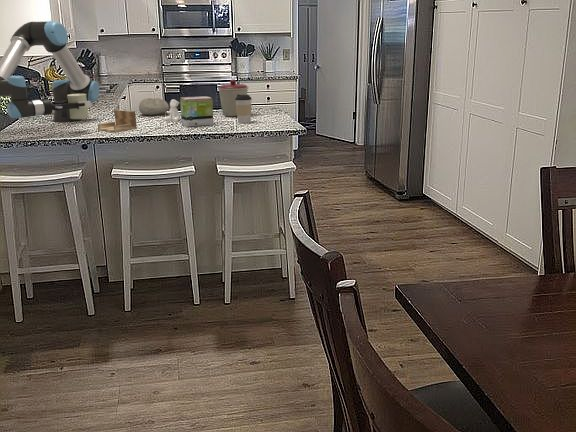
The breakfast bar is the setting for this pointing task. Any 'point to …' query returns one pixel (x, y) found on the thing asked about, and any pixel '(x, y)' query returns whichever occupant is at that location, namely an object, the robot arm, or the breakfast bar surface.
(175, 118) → the white creature statuette
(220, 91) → the canister
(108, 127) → the cradle
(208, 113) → the tea box
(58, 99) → the robot arm
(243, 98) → the coffee cup
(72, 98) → the can
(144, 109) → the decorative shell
